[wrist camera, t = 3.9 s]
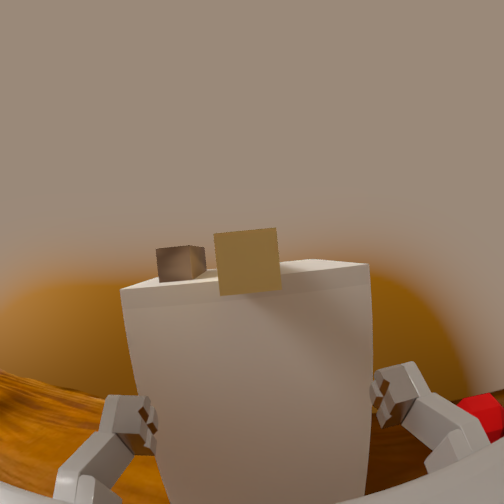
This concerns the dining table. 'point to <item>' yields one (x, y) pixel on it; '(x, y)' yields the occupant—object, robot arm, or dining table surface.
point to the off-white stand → (258, 384)
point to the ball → (486, 414)
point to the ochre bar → (247, 261)
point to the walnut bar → (180, 263)
